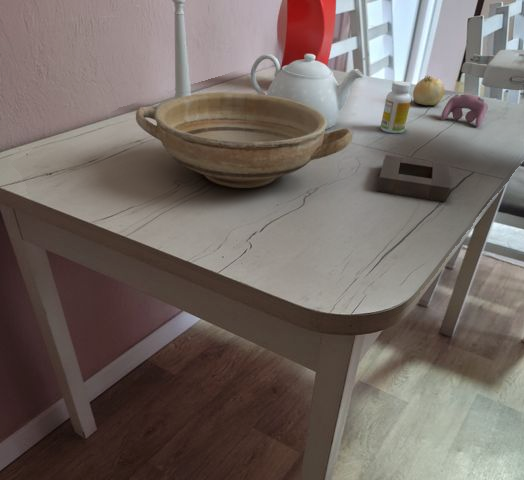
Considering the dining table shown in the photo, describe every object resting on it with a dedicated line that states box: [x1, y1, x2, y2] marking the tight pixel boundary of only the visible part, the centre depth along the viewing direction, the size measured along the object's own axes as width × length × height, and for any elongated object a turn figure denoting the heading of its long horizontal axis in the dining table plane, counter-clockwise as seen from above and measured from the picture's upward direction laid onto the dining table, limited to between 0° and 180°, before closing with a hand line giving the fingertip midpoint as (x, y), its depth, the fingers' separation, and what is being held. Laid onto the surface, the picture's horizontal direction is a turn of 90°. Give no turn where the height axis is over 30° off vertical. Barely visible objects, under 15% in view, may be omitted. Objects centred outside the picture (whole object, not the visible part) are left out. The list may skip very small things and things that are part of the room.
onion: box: [412, 74, 446, 106], centre depth 128 cm, size 8×8×7 cm
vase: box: [276, 0, 337, 70], centre depth 127 cm, size 15×14×28 cm
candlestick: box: [155, 0, 192, 110], centre depth 104 cm, size 13×13×30 cm
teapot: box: [249, 53, 364, 130], centre depth 109 cm, size 19×18×14 cm
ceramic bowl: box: [135, 91, 354, 189], centre depth 84 cm, size 37×29×10 cm
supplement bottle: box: [380, 80, 412, 134], centre depth 109 cm, size 5×5×10 cm
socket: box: [376, 154, 451, 203], centre depth 87 cm, size 12×12×2 cm
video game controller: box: [440, 93, 489, 128], centre depth 119 cm, size 10×5×7 cm, turn 58°
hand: (466, 63), depth 98 cm, fingers open, 8 cm apart
